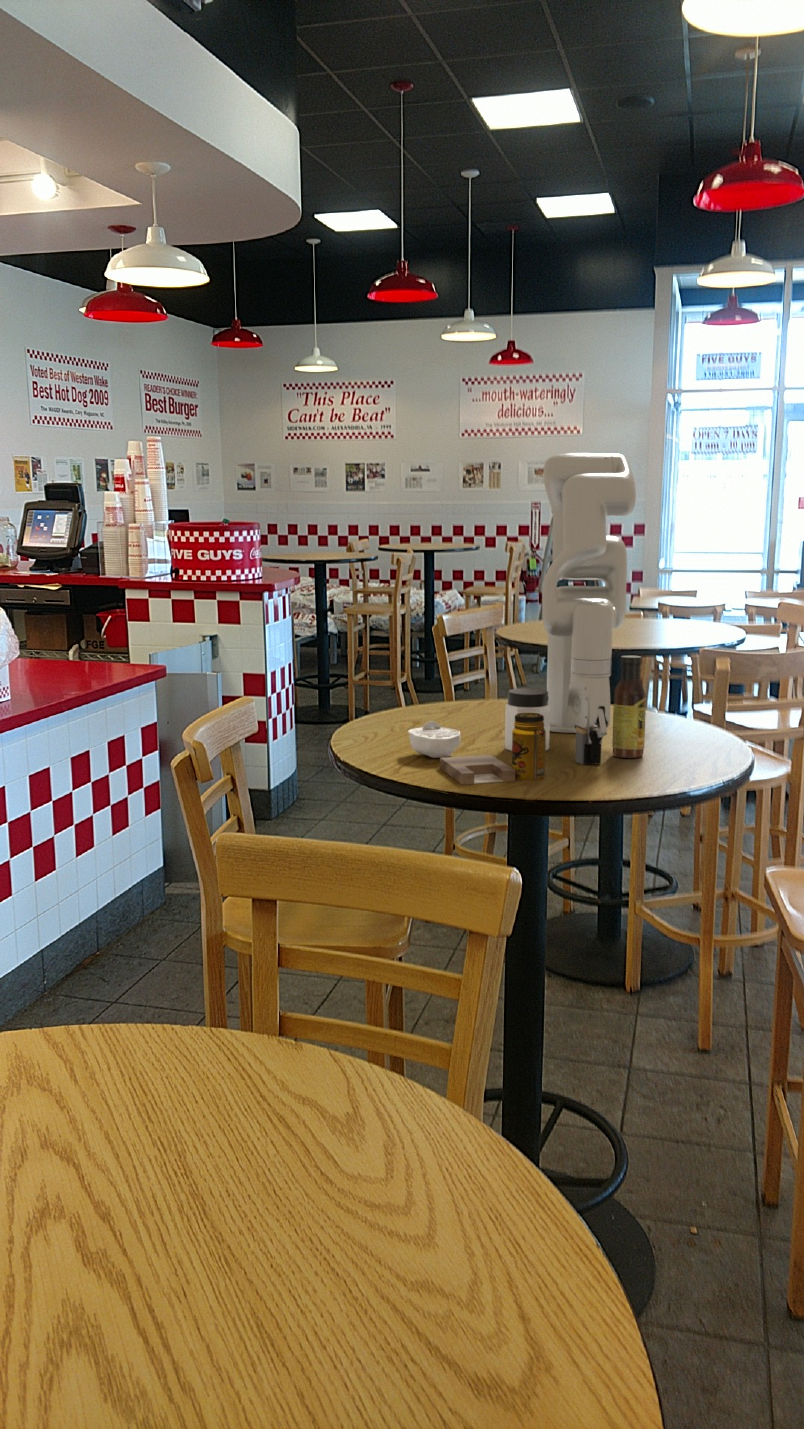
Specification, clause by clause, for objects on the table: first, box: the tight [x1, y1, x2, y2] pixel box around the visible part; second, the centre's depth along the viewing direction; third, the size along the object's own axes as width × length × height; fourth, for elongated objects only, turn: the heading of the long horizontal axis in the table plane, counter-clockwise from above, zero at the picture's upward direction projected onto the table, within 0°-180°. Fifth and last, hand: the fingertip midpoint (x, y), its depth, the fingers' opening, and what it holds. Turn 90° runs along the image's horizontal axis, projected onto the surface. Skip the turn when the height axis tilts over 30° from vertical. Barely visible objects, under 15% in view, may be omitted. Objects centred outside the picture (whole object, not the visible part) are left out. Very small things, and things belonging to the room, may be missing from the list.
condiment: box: [511, 713, 546, 782], centre depth 194 cm, size 7×8×12 cm
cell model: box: [407, 720, 462, 759], centre depth 211 cm, size 10×12×7 cm
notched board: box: [439, 754, 516, 786], centre depth 196 cm, size 13×10×2 cm
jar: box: [504, 687, 550, 752], centre depth 216 cm, size 9×8×12 cm
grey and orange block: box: [574, 725, 602, 765], centre depth 205 cm, size 3×4×7 cm
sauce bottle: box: [611, 655, 647, 759], centre depth 210 cm, size 7×6×20 cm
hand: (588, 761), depth 206 cm, fingers closed on grey and orange block, 2 cm apart
